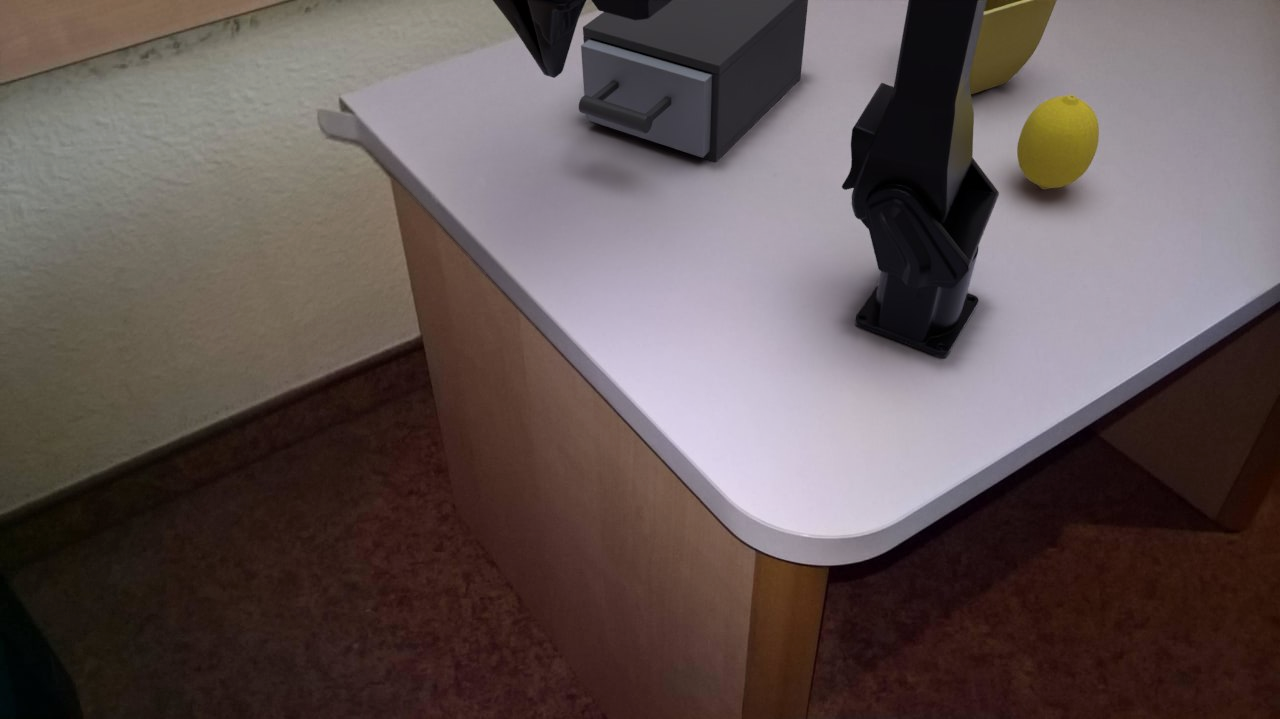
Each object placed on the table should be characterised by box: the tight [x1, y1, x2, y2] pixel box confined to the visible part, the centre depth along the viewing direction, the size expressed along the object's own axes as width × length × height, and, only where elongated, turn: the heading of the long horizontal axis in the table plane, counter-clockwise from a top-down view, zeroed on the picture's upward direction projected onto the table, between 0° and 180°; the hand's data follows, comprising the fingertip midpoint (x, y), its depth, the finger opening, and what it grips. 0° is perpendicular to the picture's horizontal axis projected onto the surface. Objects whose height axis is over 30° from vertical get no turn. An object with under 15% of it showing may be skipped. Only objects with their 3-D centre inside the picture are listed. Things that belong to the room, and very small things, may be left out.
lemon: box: [1016, 94, 1100, 190], centre depth 77 cm, size 6×6×8 cm
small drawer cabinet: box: [582, 0, 809, 163], centre depth 88 cm, size 16×13×9 cm
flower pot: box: [969, 0, 1058, 95], centre depth 89 cm, size 9×9×9 cm
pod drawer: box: [578, 40, 712, 159], centre depth 85 cm, size 19×11×7 cm, turn 148°
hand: (553, 74), depth 70 cm, fingers closed
